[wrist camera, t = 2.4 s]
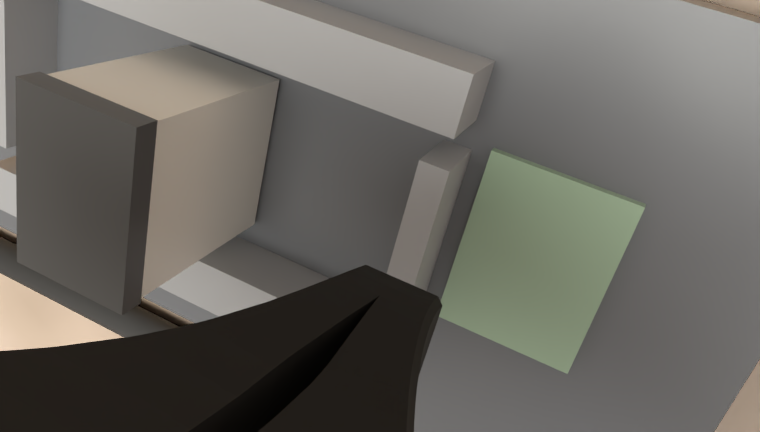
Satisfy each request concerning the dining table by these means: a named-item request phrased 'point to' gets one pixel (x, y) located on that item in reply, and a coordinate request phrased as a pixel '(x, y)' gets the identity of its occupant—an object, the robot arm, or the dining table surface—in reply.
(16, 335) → the dining table surface
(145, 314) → the dark grey rod
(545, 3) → the breaker panel
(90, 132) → the grey and beige block
